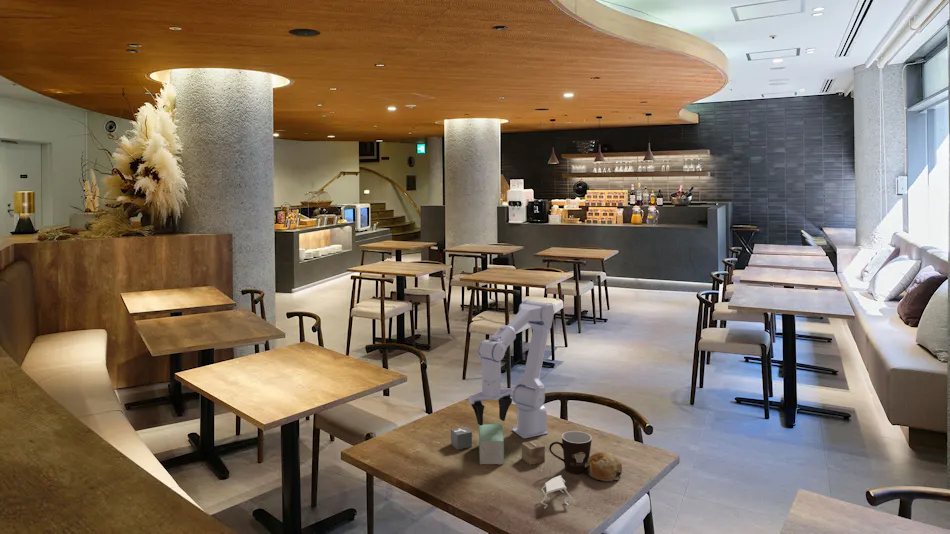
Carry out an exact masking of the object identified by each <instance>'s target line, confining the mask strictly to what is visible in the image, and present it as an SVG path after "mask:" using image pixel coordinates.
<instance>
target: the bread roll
mask: <svg viewBox="0 0 950 534" xmlns="http://www.w3.org/2000/svg"><path fill="white" fill-rule="evenodd" d="M585 468H586V470H587V472H586V473H587V474H588V475H589V476H590V477H591V478H593V479H594V480H596V481H602V482H603V481H604V482H614V481H613V480H617V481H618V480H619V479H620V477H621V475H622V473H623V467H622V463H621V461H620V458H618V457H617V456H615V454H614V453H611V452H607V451H601V452H595V453H593V454H591V455H589V458H588V460H587V463H586V464H585Z"/></svg>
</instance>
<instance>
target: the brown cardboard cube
mask: <svg viewBox="0 0 950 534" xmlns="http://www.w3.org/2000/svg"><path fill="white" fill-rule="evenodd" d="M545 456H546V446H545V444H543V443H541V442H539V440H537V439H533V440H529V441H525V442H521V459H522V460H523V461H524V460H525V461H524V462H525V463H527V464H528V463H529V464H528V465H530V466H532V465H531V464H533V465H537V464H541V463H545V461H546V459H545V458H546V457H545ZM536 463H537V464H536Z"/></svg>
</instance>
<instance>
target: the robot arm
mask: <svg viewBox="0 0 950 534" xmlns="http://www.w3.org/2000/svg"><path fill="white" fill-rule="evenodd" d="M554 315H555V310H554V308H553V304H552V303H550V302H542V301H537V300H536V301H535V300H530V299H524V300H523V301H522V302H521V303H520V304H519V307H518V312H517V313H516V314H515V316H514V317H513V318H512V319H511V321H510V322H509V323H508V324H507V325H505V324H504V325H500V327H499V328H498V329H497V330H496V332H494V334H493V335H491V337H489V338H488V339H484V340H482V341H481V342H480V343H479V345H478V349H477V355H478V357H479V362H480V364H481V391H480V392H477V393H476V394H475V393H474V394H473V395H468V404H470V405H471V407H472V409H473V412H474V415H475V418H476V421H477V422H476V423H477V424H478V426H479V425H480V426H481V425H483V424H484V410H485V405H483V402H487V401H493V400H494V401H495V400H498V406H499V410H498V412H499V413H498V414H499V416H498V417H499V420H500V421H502V422H504V421H505V420H506V417H507V413H508V410H509V408H510V406H511V404H512V403H514V406H515V407H517V410H516V411H517V412H516V414H517V415H516V420H517V421H516V423H517V424H516V427H514V428H512V429H511V431H513V432H514V433H515V434H517V435H518V436H519V437H521V438H522V439H528V438H534V437H537V436H543V435H546V434H547V435H548V433H549V432H548V431H547V430H548V414H547V413H548V412H547V409H546V407H545V406H544V404H545V400H546V396H545V395H546V394H545V392H546V386H545V385H544V383H543V382H542V381H541V380H540V378H541V371H542V367H543V361H544V356H545V353H546V348H547V347H546V345H547V341H548V338H549V337H548V336H549V332H550V329H552V324H553V320H554ZM527 324H528V325H529V326H530V328H531V329H532V333H531V336H530V337H531V338H530V342H529V348H528V353H527V358H526V362H525V367H524V372H523V376H522V377H520V378H519V379H517V380H516V381H515V382H516V383H515V386H514V388H513V389H512V388H507V389H503V388H501V385H502V384H501V383H502V381H501V380H502V379H501V371H502V370H501V368H502V366H501V364H502V363H501V362H502V360H503V359H504V357H505V354H506V352H507V349H508V347H509V346H510V345H511V344H512V343H513V342H514V341H515V340H516V338H517V332H519V331H520V330H521V329H522V328H524V327H525V326H526V325H527Z"/></svg>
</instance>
